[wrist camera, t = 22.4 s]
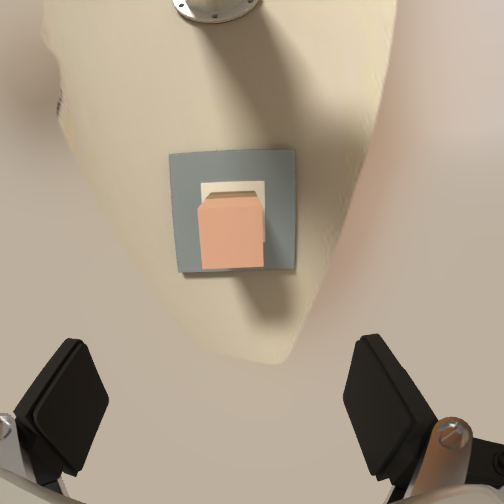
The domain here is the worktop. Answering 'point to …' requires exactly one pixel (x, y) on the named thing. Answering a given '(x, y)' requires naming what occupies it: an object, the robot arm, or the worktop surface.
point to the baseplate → (235, 179)
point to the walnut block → (231, 194)
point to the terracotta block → (231, 232)
